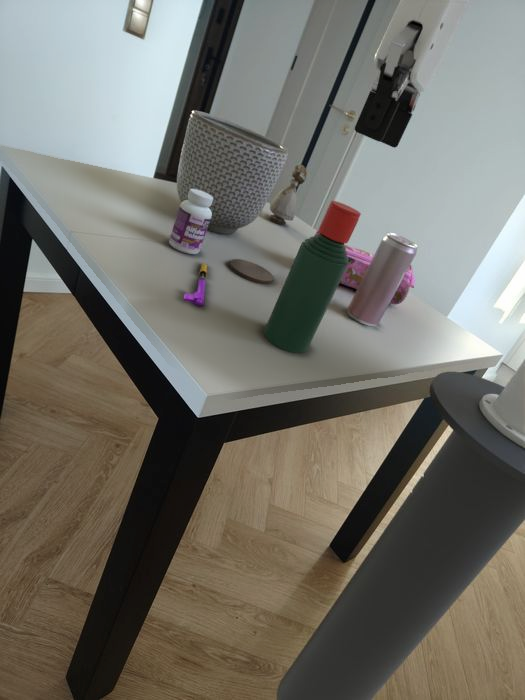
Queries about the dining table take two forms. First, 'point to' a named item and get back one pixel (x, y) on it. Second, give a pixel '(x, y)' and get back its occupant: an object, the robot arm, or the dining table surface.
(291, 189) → the figurine
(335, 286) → the bottle
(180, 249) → the pill bottle
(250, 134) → the planter
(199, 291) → the purple tool
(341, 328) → the dining table surface
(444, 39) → the robot arm
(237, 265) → the coaster
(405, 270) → the beverage can
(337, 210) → the cap
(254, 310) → the dining table surface
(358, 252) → the pencil case
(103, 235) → the dining table surface
